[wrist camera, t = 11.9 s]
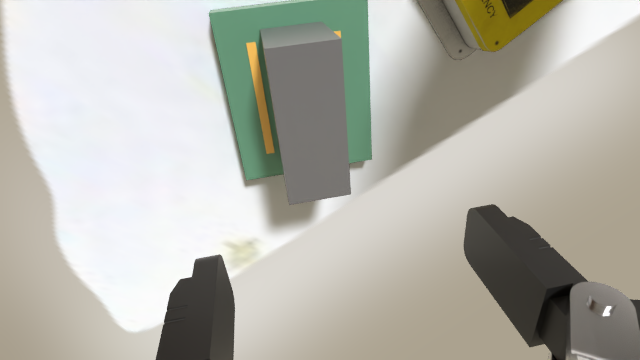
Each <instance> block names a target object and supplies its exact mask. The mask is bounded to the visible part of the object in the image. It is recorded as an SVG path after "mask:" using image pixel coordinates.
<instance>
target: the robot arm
mask: <svg viewBox="0 0 640 360" xmlns="http://www.w3.org/2000/svg"><path fill="white" fill-rule="evenodd" d="M464 251H465V256H466V258H467V260H468V262H469V264H470V265H471V267H472V268H473V270H474V271H475V272H476V274H477V275H478V276H479V278H480V279H481V281H482V282H483V283H484V285H485V286H486V288H488V290H489V292H490V293H491V294H492V296H493V297H494V299H495V300H496V301H497V303H498V304H499V306H500V307H501V308H502V310H503V311H504V312H505V314H506V315H507V317H508V318H509V319H510V321H511V322H512V323H513V325H514V326H515V328H516V329H517V330H518V332H519V333H520V335H521V336H522V337H523V339H524V340H525V341H526V342H527V344H528V345H529V347H533V346H537V345H542V344H545V345H546V346H547V347H548V349H549V350H550V353H549V356H548V360H640V300H631V299H629V298H628V297H626V296H625V295H624V294H623V293H621V292H620V291H618V290H617V289H614V288H612V287H610V286H608V285H605V284H601V283H597V282H588V281H587V280H586V279H585V278H584V277H583V276H582V275H581V274H580V273H579V272H578V271H577V270H576V269H574V267H572V266H571V265H570V264H569V263H568V262H567V261H566V260H565V259H564V258H563V257H562V256H561V255H560V254H559V253H558V252H557V251H556V250H555V249H554V248H551V247H550V245H549V244H548V243H547V242H546V241H545V240H544V239H543V238H542V239H541V236H540V235H539V234H538V233H537V232H536V231H535V230H534V229H533V228H532V227H531V226H530V225H528V224H526V223H524V222H522V221H521V220H519V219H517V218H515V217H507V216H506V215H505V214H504V213H503V212H502V211H501V210H500V209H499V208H498V207H497V206H496V205H493V204H491V205H487V206H481V207H476V208H471V209H469V211H468V214H467V222H466V230H465V238H464ZM234 318H235V304H234V296H233V291H232V287H231V284H230V281H229V277H228V274H227V271H226V268H225V264H224V261H223V258H222V256H221V255H215V256H210V257H204V258H199V259H196V260H195V263H194V269H193V275H192V277H190V278H185V279H180V280H179V282H178V283H177V285H176V286H175V288H174V289H173V291H172V292H171V293H170V297H169V302H168V306H167V312H166V315H165V320H164V323H165V324H164V325H163V329H162V334H161V338H160V343H159V347H158V352H157V356H156V360H233V352H234V351H233V350H234Z"/></svg>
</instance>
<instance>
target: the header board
mask: <svg viewBox="0 0 640 360" xmlns="http://www.w3.org/2000/svg"><path fill="white" fill-rule="evenodd" d="M209 16H210V21H211V25H212V30H213V34H214V39H215V43H216V48H217V52H218V56H219V61H220V65H221V70H222V74H223V79H224V83H225V88H226V92H227V96H228V101H229V105H230V110H231V114H232V119H233V123H234V128H235V132H236V136H237V141H238V145H239V150H240V154H241V159H242V163H243V168H244V172H245V176H246V180H251V179H257V178H263V177H269V176H275V175H281V174H284V173H283V168H282V162H281V156H280V150H279V144H278V138H277V132H276V125H275V119H274V113H273V107H272V101H271V95H270V89H269V82H268V76H267V70H266V64H265V58H264V52H263V45H262V39H261V33H260V29H266V28H274V27H282V26H290V25H297V24H305V23H313V22H321V21H322V22H323V23H324V24H325V25H326V26H327V27H329V28H330V29H331V30H332V31H333V32H334V33H336V34H337V35H338V36H339V37H340V38H341V39H342V53H343V70H344V87H345V103H346V120H347V137H348V154H349V163H353V162H360V161H366V160H372V149H371V112H370V75H369V37H368V0H291V1H282V2H274V3H266V4H258V5H250V6H241V7H233V8H225V9H217V10H210V12H209Z"/></svg>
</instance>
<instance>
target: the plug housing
mask: <svg viewBox="0 0 640 360" xmlns="http://www.w3.org/2000/svg"><path fill="white" fill-rule="evenodd" d="M260 33H261V39H262V45H263V52H264V58H265V64H266V70H267V76H268V82H269V89H270V95H271V101H272V107H273V113H274V119H275V125H276V132H277V138H278V144H279V150H280V156H281V162H282V168H283V173H284V179H285V184H286V190H287V195H288V201H289V205H292V204H298V203H303V202H309V201H315V200H321V199H327V198H332V197H338V196H344V195H350V194H351V187H350V171H349V154H348V137H347V120H346V103H345V87H344V70H343V53H342V39H341V38H340V37H339V36H338V35H337V34H336V33H334V32H333V31H332V30H331V29H330V28H329V27H327V26H326V25H325V24H324V23H323V22H322V21H321V22H313V23H305V24H297V25H290V26H282V27H274V28H266V29H260Z"/></svg>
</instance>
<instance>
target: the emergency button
mask: <svg viewBox="0 0 640 360" xmlns="http://www.w3.org/2000/svg"><path fill="white" fill-rule="evenodd" d="M417 1H418V2H419V4H420V6H421V8H422V9H423V11H424V13H425V14H426V16H427V18H428V20H429V21H430V23H431V25H432V27H433V28H434V30H435V32H436V33H437V35H438V37H439V39H440V40H441V42H442V44H443V46H444V47H445V49H446V51H447V53H448V54H449V56H450V57H452V58H453V59H455V60H461V59H463V58H465V57H467V56H469V55H470V54H471V53H473V52H474V51H475V50H476V49H482V50H483V51H491V52H495V51H498V50H500V49H501V48H503V47H504V46H505V45H507V44H508V43H509V42H510V41H512V40H513V39H514V38H516V37H517V36H518V35H519V34H521V33H522V32H523V31H525V30H526V29H527V28H528V27H530V26H531V25H532V24H534V23H535V22H536V21H537V20H539V19H540V18H541V17H543V16H544V15H545V14H546V13H548V12H549V11H550V10H552V9H553V8H554V7H555V6H557V5H558V4H559V3H561V2H562V1H563V0H417Z"/></svg>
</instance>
